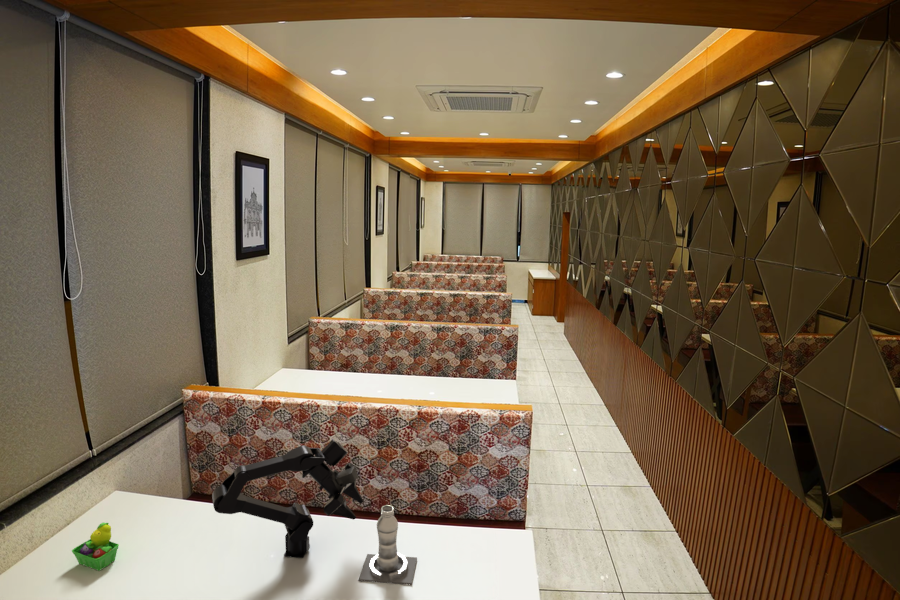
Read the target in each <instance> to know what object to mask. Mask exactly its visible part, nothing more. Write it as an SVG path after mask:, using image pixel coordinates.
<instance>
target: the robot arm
mask: <svg viewBox="0 0 900 600" xmlns="http://www.w3.org/2000/svg"><path fill="white" fill-rule="evenodd" d="M348 453H349V451H348V450H347V449H346V448H345V447H344V446H343V445H342V444H341V443H340V442H339V441H336V440H335V439H334V438H332V439H331V440H330V441H329V443H328V444H327V445H326V446H325V447H324V448H323V449H322V450H321V448H320V447H309V446H307V445H300V446H297V447H295V448H293V449H290V450H289V451H288V452H287V453H284V454H283V455H280V456H276V457H272V458H269V459H265V460H261V461H257V462H253V463H250V464H246V465H239V466H237V467H236V468H235V469H234V471H233V472H232V473H230V474H229V475H228V476H227V477H226V478H225V479H224V480H223V482H222V483H221V484H220V485H219V486H217V487H216V488H214V490H213V492H212V495H211V497H212V499H211V500H212V504H213V505H212V506H213V509H214V511H215V512H216V513H218V514H225V515H234V514H238V513H242V514H245V515H246V514H247V515H249V516H254V517H258V518H261V519H265V520H270V521H272V522H273V521H274V522H276V523H280V524H283V525H284V527H285V529H286V534H285V538H284V539H285V552H284V554H283V557H285V558H298V559H303V558H304V557H305V556H306V554H307V553H308V552H309V549H310V547H311V544H310V536H309V533H310V531H311V529H312V528H313V527H314V519H313V517H312V515H311V513H310V511H309V508H307V507H306V505H305V504H299V503H298V502H293V504H292V505H291V506H289V507H285V506H282V505H278V504H275V503H272V502H269V501H268V502H267V501H264V500H261V499H258V498H254V497H251V496H247V495H244V493H242V491H243V489H244V487H245V486H246V484H247V482H251V481H255V480H258V479H261V478H265V477H269V476H273V475H276V474H279V473H284V472H297V473H298V472H302V475H301V476H302V477H301V478H303V479H305V478H306V477H307V476H308V475H309V476H310V477H311V478H312V479H313V480H314V481H315V482H316V483H317V484H318V485H319V486H318V489H319V490H320V491H322V490H324V491H325V492H326V493H327V494H328V495H327V498H328V501H326V503H325V505H324V507H323V513H325V515H327V516H340V517H342V518H346V519H350V520H355V519H357V516H356V514H355V513H354V512H353V511H352V510H351V508H350V507H349V506H348V505H347V498H344V496H343V494H344V495H346V496H347V497H349V498H351V499H353V500H354V501H355V502H358V503H359V504H362V503H364V499H363V498H362V496H361V493H360V491H359V490H358V489H359V488H358V487H357V485H356V484H357V477H358V476H359V475H358V472H357V470H358V468H357V467H356V466H355V465H354V464H352V463H351V462H348V463H346V464H345V466H344V469H342V471H339V470H337V469H334V470H332V469H331V468H330V467H331V466H332V467H336V466H337V465H338V464H339V463H340V462H341V461H342V460H343V458H345V456H347V454H348ZM326 463H327V464H326ZM328 465H329V466H328Z"/></svg>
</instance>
